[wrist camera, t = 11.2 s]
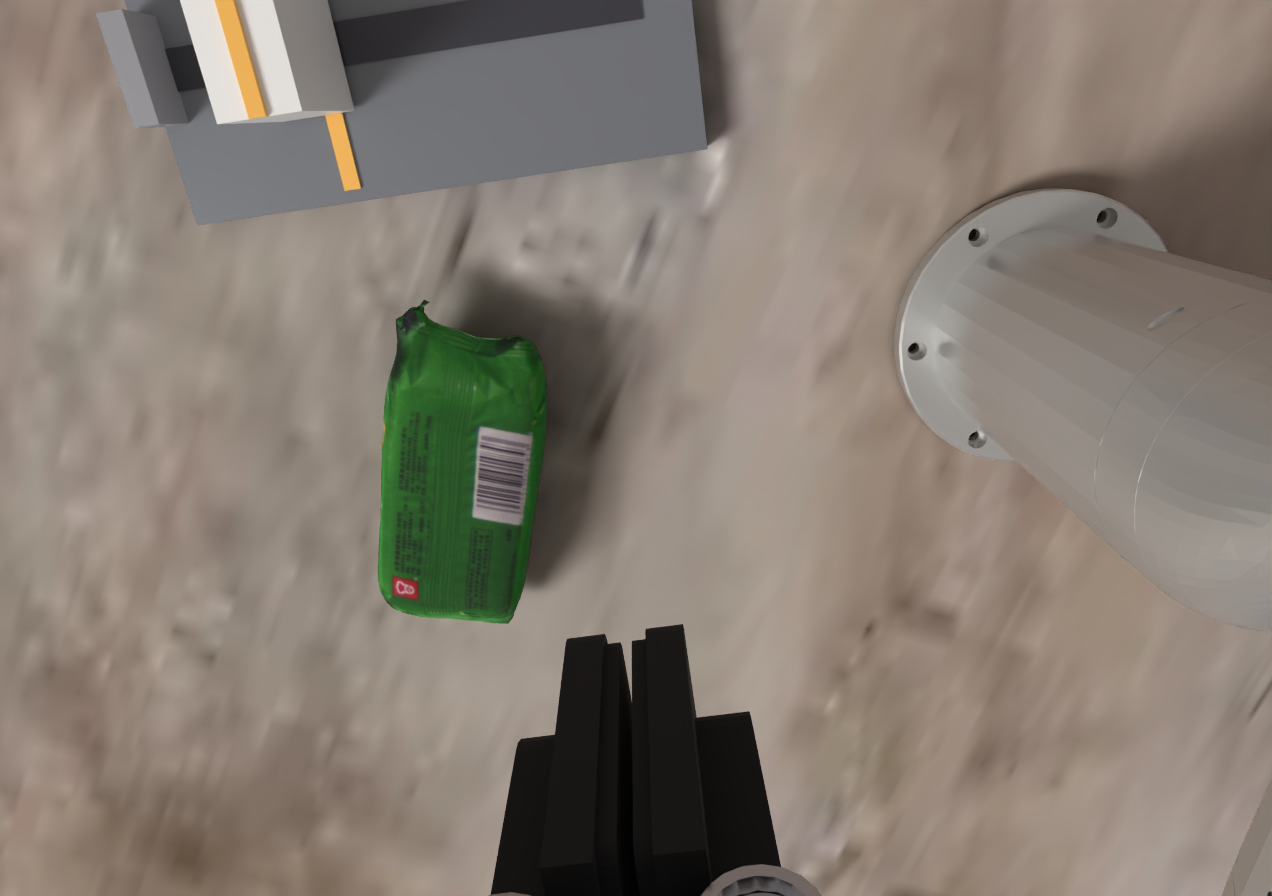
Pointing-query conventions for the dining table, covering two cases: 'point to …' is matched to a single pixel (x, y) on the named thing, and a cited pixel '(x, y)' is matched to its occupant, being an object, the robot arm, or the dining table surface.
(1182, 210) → the dining table surface
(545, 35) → the console
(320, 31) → the fader tab
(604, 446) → the dining table surface
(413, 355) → the snack package
